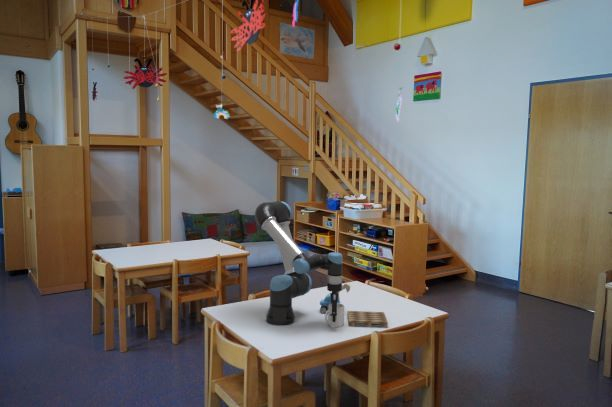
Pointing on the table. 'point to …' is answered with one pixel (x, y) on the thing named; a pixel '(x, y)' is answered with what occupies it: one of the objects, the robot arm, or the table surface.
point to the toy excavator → (327, 300)
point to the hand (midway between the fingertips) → (333, 323)
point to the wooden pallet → (367, 318)
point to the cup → (339, 315)
